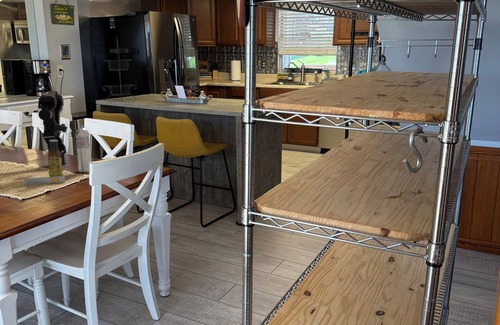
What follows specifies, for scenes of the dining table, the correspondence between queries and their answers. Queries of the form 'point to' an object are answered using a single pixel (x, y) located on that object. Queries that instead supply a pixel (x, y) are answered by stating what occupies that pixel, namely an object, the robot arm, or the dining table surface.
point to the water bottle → (83, 149)
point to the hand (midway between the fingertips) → (52, 149)
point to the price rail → (44, 180)
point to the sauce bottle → (54, 159)
